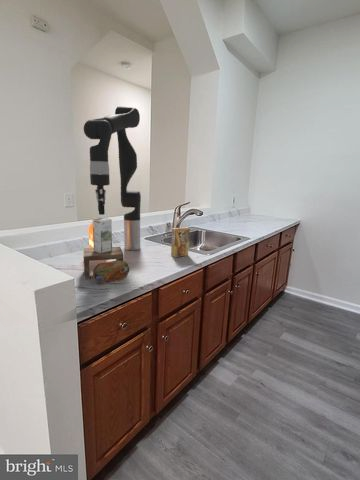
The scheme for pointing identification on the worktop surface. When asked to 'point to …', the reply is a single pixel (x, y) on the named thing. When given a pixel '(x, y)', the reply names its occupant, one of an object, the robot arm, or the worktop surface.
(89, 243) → the orange juice
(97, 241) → the syrup box
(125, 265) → the tin
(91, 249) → the walnut shelf
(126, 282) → the worktop surface
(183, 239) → the candy box
